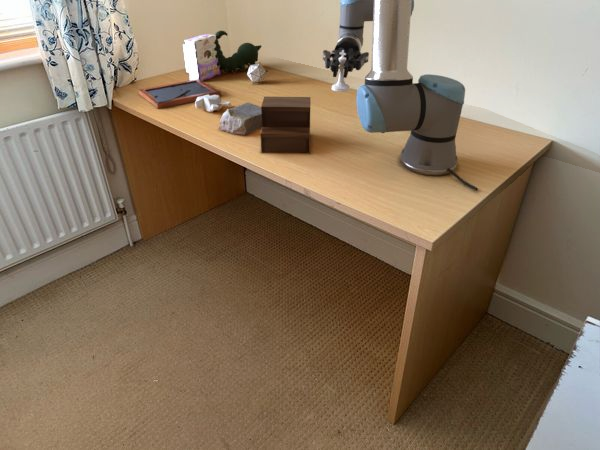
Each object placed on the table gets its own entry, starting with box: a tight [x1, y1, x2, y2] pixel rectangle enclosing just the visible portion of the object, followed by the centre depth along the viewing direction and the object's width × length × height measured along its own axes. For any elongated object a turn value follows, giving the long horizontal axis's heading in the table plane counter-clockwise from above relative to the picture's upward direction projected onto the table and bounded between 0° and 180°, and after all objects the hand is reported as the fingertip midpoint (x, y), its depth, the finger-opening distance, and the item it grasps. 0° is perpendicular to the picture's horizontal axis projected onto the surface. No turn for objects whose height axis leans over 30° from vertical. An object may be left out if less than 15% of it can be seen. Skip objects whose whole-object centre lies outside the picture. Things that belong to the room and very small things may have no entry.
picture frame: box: [138, 79, 221, 109], centre depth 168 cm, size 20×2×25 cm
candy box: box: [183, 33, 221, 82], centre depth 183 cm, size 14×6×16 cm, turn 149°
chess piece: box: [331, 50, 351, 93], centre depth 115 cm, size 5×5×10 cm
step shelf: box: [259, 96, 311, 155], centre depth 128 cm, size 14×14×12 cm
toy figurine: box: [214, 30, 262, 74], centre depth 192 cm, size 9×19×25 cm
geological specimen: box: [218, 102, 262, 136], centre depth 141 cm, size 11×6×15 cm
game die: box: [244, 61, 269, 85], centre depth 180 cm, size 9×8×10 cm
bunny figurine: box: [194, 95, 232, 113], centre depth 153 cm, size 10×5×15 cm
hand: (340, 71), depth 110 cm, fingers closed on chess piece, 2 cm apart
